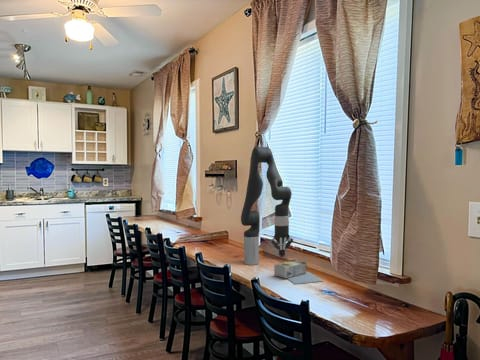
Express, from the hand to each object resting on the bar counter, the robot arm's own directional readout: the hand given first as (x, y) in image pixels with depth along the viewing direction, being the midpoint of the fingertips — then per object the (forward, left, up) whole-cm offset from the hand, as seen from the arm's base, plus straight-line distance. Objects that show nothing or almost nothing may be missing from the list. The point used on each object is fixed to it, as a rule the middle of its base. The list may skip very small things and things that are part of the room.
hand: (281, 256), depth 194 cm
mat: (0, +11, -13) cm, 17 cm away
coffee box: (-4, 0, -9) cm, 10 cm away
